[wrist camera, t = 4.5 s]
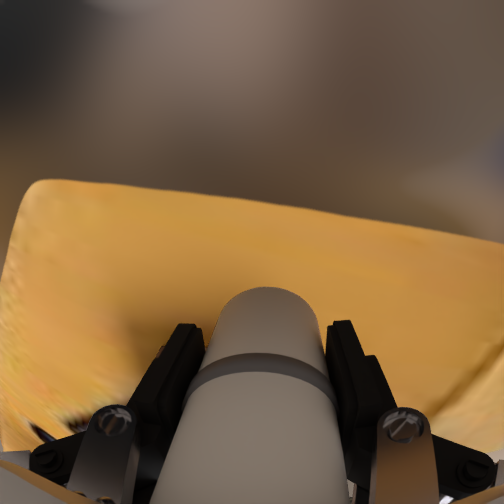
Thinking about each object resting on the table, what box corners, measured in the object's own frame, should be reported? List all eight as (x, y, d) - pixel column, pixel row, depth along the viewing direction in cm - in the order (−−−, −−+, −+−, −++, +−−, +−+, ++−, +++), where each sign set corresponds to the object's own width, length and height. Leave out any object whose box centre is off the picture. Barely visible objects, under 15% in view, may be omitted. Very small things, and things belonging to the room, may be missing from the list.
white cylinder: (322, 282, 10) (401, 594, 1) (318, 371, 12) (339, 604, 2) (208, 285, 11) (66, 559, 1) (221, 372, 12) (159, 593, 2)
